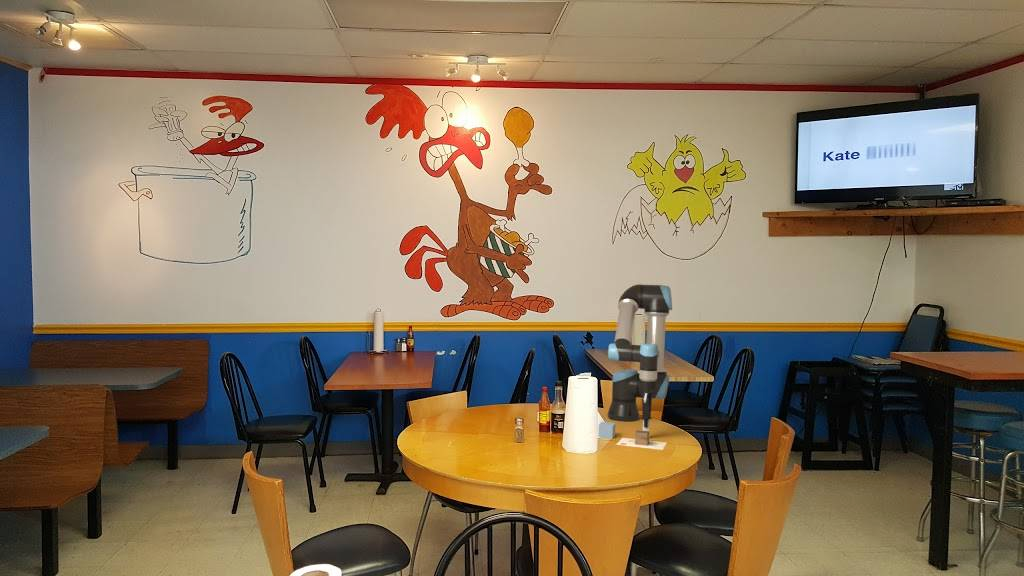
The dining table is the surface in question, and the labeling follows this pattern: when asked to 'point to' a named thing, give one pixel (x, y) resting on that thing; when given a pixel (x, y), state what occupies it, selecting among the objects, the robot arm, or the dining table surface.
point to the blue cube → (607, 430)
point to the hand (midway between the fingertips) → (645, 434)
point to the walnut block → (641, 437)
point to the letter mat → (650, 445)
